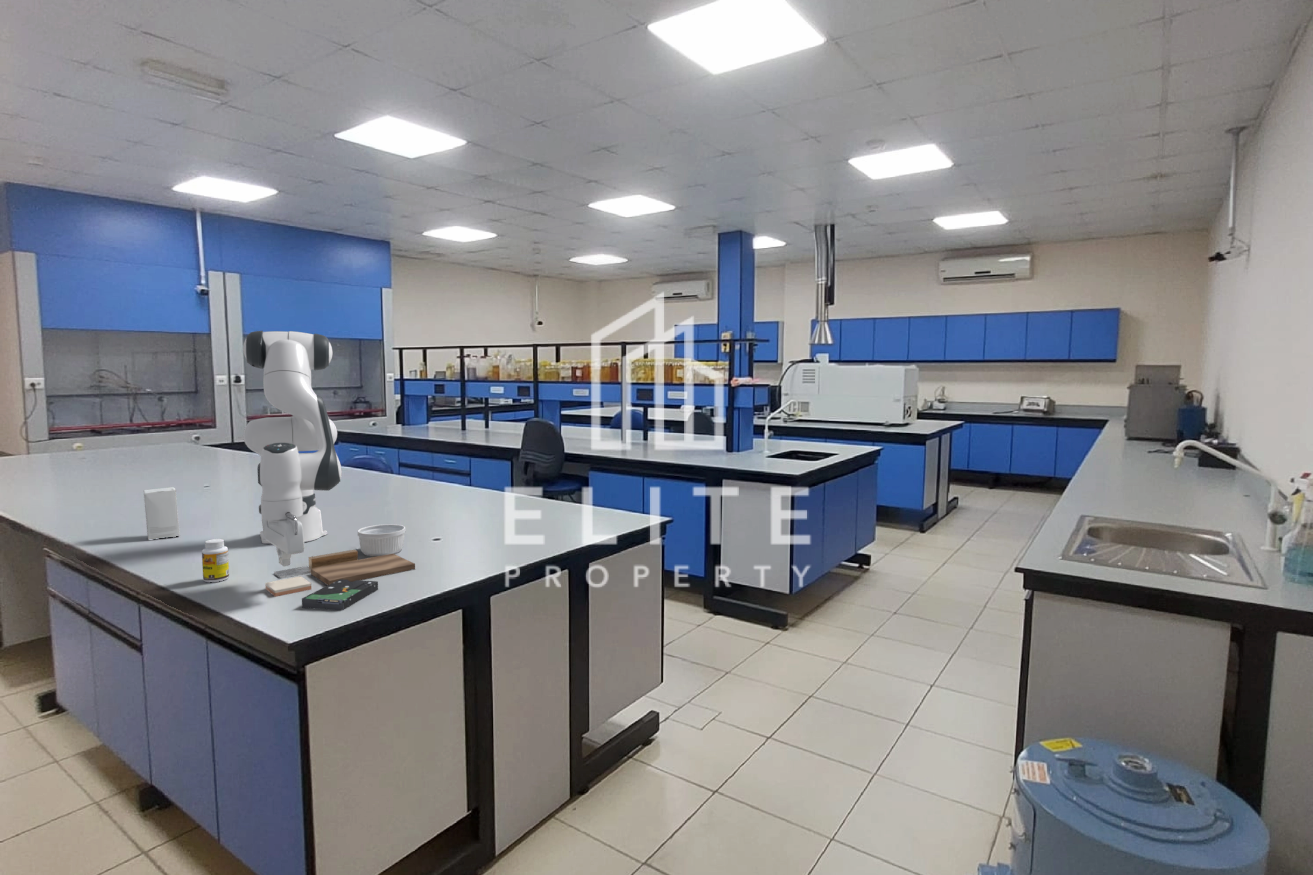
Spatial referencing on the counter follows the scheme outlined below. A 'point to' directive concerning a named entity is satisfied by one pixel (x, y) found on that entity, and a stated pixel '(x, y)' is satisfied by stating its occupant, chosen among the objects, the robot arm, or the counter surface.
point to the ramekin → (381, 539)
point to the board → (362, 569)
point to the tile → (288, 586)
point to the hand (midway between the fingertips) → (284, 564)
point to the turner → (319, 563)
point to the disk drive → (340, 594)
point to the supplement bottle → (215, 561)
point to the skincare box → (161, 513)
